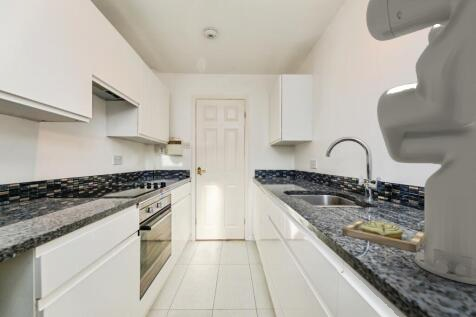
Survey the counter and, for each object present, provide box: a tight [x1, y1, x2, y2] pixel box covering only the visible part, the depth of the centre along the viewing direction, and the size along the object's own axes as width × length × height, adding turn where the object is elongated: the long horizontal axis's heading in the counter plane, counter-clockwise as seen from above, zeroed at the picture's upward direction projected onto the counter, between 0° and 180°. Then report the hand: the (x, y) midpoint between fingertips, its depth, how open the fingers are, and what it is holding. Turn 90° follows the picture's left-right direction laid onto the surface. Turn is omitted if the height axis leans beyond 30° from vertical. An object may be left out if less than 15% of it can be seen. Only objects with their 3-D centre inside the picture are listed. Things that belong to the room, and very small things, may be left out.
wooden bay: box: [341, 219, 424, 253], centre depth 68 cm, size 16×18×2 cm
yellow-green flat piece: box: [359, 220, 404, 240], centre depth 69 cm, size 10×11×4 cm
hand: (459, 135), depth 62 cm, fingers open, 9 cm apart
